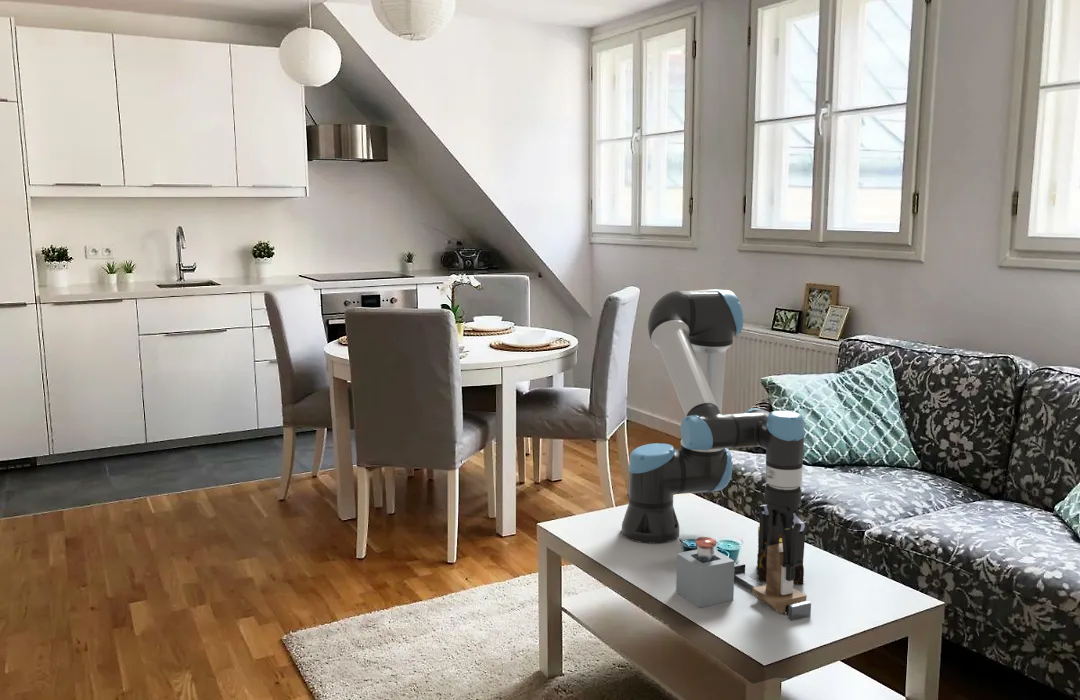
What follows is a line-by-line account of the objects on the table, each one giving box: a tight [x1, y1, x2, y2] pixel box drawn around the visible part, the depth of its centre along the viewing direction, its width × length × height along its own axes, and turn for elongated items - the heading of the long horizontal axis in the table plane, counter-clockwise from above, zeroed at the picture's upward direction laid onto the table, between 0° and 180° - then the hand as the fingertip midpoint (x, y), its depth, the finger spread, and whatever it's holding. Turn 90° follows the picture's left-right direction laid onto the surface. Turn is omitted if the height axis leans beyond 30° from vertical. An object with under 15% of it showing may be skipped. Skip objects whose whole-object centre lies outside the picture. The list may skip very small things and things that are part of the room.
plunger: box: [695, 536, 717, 563], centre depth 196 cm, size 4×4×5 cm
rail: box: [734, 562, 812, 621], centre depth 196 cm, size 23×5×3 cm, turn 24°
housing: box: [675, 548, 736, 608], centre depth 197 cm, size 9×9×9 cm
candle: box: [756, 526, 805, 586], centre depth 207 cm, size 10×10×10 cm
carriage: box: [752, 543, 807, 614], centre depth 192 cm, size 8×8×13 cm
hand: (779, 588), depth 192 cm, fingers closed on carriage, 4 cm apart
